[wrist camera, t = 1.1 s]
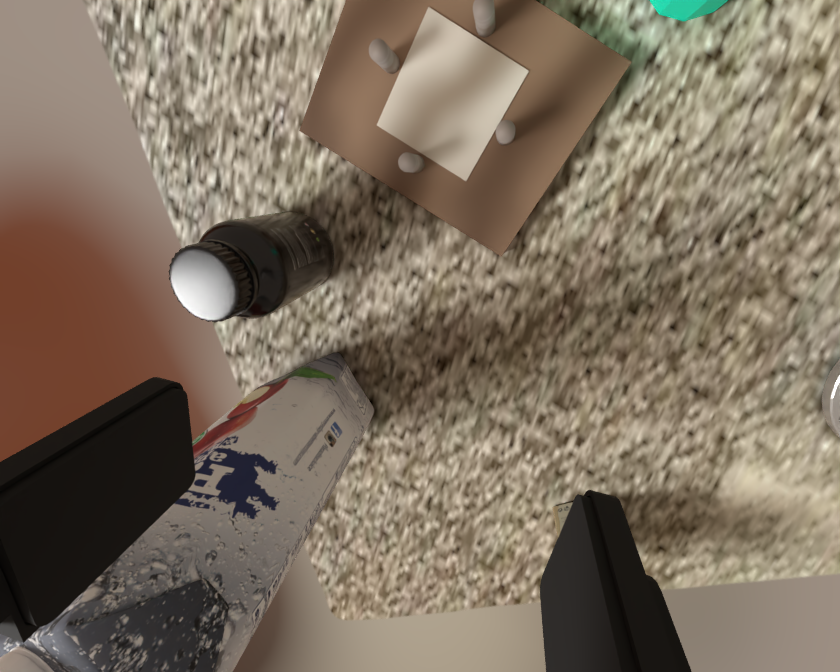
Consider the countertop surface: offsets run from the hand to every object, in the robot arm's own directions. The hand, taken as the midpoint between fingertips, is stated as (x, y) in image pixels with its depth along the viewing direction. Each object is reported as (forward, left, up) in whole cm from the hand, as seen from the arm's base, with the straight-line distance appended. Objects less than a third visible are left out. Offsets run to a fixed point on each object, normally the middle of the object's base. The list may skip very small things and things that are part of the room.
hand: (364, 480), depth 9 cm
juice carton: (+5, +19, -25) cm, 32 cm away
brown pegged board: (+7, -9, -25) cm, 28 cm away
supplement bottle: (+13, +7, -25) cm, 29 cm away
